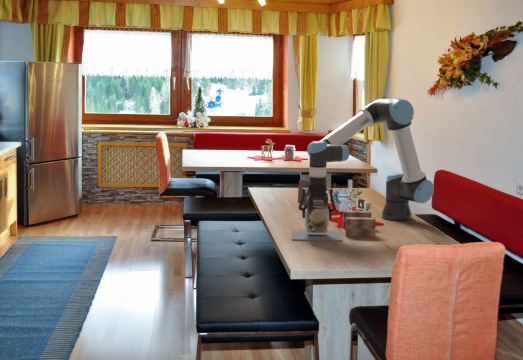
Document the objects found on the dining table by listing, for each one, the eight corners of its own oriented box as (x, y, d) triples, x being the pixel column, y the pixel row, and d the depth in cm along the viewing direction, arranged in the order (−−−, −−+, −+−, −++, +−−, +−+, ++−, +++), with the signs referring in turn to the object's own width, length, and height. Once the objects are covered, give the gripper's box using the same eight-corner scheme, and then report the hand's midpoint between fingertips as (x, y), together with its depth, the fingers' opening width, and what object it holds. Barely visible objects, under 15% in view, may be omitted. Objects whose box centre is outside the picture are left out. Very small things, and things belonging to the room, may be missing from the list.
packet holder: (369, 227, 321) (370, 211, 320) (375, 236, 301) (375, 219, 300) (342, 226, 322) (343, 210, 320) (346, 236, 302) (346, 218, 301)
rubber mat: (339, 232, 310) (339, 231, 310) (342, 241, 292) (342, 240, 292) (291, 231, 311) (291, 230, 311) (292, 240, 293) (292, 239, 293)
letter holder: (311, 208, 369) (312, 183, 366) (297, 202, 387) (297, 178, 385) (328, 207, 372) (328, 182, 370) (313, 201, 390) (313, 177, 388)
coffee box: (307, 233, 298) (307, 197, 295) (305, 230, 304) (306, 195, 302) (327, 233, 298) (328, 197, 296) (325, 229, 304) (326, 195, 302)
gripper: (341, 175, 301) (340, 224, 304) (293, 174, 301) (292, 223, 305) (343, 177, 293) (341, 227, 296) (293, 177, 294) (292, 227, 297)
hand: (316, 225), depth 301 cm, fingers closed on coffee box, 9 cm apart
